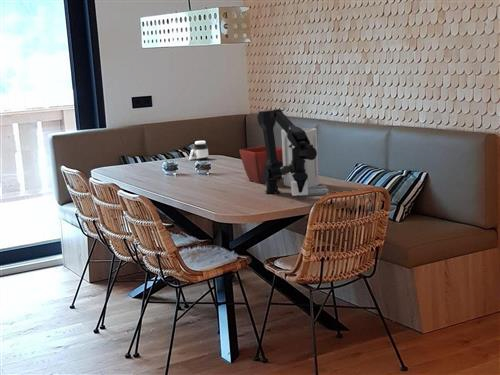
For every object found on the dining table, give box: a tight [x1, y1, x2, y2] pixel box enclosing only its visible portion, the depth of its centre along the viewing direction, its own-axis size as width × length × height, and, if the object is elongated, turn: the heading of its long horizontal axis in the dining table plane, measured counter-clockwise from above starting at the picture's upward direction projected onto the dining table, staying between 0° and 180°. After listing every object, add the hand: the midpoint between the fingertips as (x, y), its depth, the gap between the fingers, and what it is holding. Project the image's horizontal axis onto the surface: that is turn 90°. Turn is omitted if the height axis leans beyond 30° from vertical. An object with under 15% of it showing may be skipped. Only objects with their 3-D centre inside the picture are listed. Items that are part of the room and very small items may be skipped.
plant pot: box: [239, 145, 283, 184], centre depth 405 cm, size 19×19×17 cm
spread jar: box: [188, 140, 209, 161], centre depth 493 cm, size 12×11×12 cm
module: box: [290, 180, 308, 197], centre depth 354 cm, size 5×7×7 cm
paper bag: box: [280, 128, 320, 188], centre depth 384 cm, size 19×15×28 cm
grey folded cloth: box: [296, 185, 329, 197], centre depth 366 cm, size 10×15×4 cm, turn 92°
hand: (299, 191), depth 355 cm, fingers closed on module, 5 cm apart
